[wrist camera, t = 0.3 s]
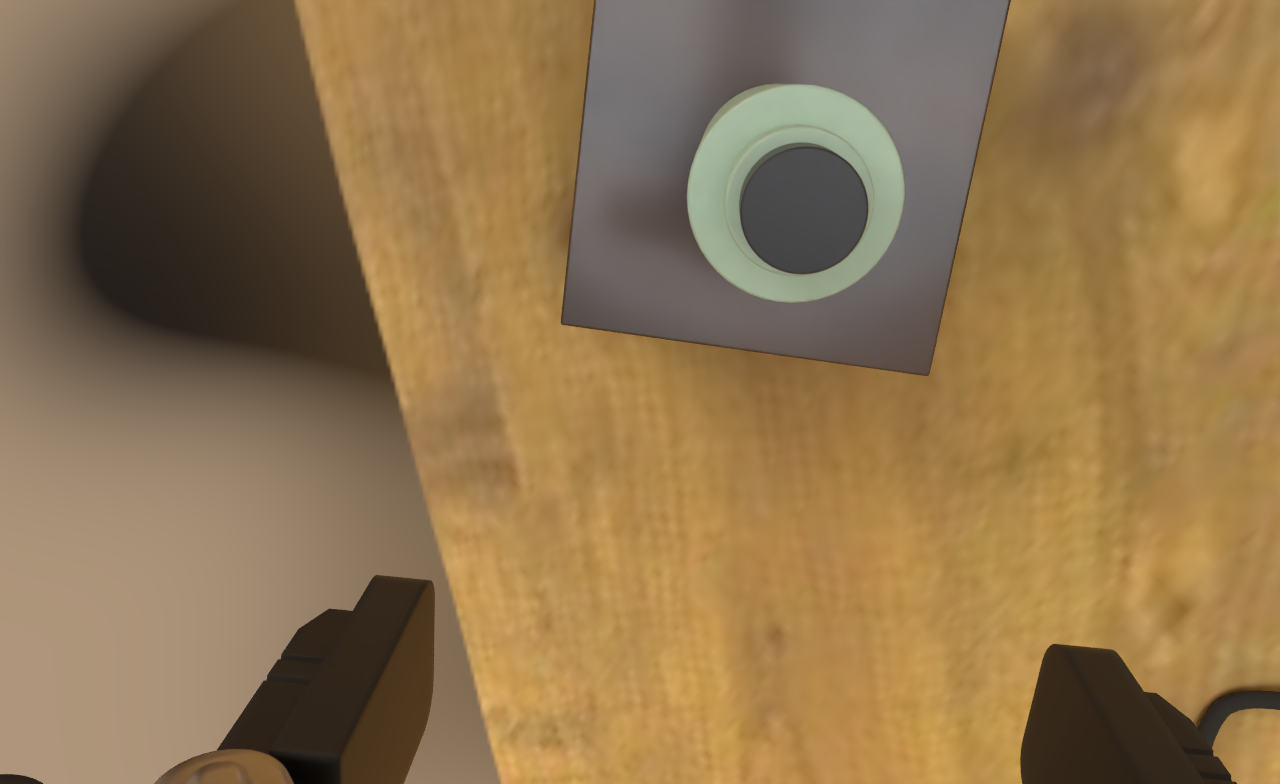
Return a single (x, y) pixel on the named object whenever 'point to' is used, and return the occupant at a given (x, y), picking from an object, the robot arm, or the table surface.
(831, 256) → the bottle
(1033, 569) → the table surface
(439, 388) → the table surface
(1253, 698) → the cable
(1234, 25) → the table surface
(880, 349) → the stand
